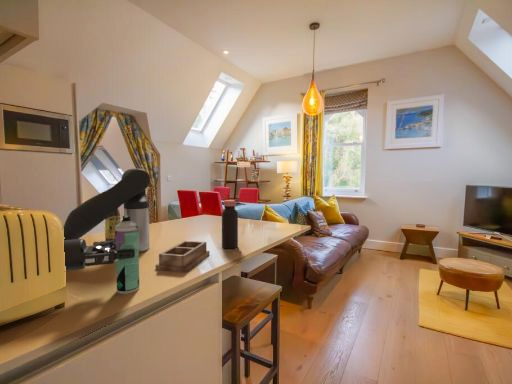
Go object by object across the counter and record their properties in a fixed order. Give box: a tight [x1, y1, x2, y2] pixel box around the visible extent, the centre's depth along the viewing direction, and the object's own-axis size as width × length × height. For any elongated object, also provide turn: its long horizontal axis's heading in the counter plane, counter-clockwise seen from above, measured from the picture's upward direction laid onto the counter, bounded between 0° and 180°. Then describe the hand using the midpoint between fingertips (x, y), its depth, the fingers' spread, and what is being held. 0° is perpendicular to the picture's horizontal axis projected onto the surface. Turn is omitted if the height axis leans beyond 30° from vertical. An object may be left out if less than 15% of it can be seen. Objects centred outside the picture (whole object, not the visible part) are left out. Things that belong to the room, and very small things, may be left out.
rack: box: [155, 240, 210, 273], centre depth 94 cm, size 11×19×5 cm, turn 168°
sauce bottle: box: [104, 208, 121, 241], centre depth 122 cm, size 7×6×20 cm
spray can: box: [115, 215, 140, 295], centre depth 70 cm, size 6×6×20 cm
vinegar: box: [221, 199, 239, 250], centre depth 112 cm, size 7×7×20 cm
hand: (134, 248), depth 71 cm, fingers open, 8 cm apart
